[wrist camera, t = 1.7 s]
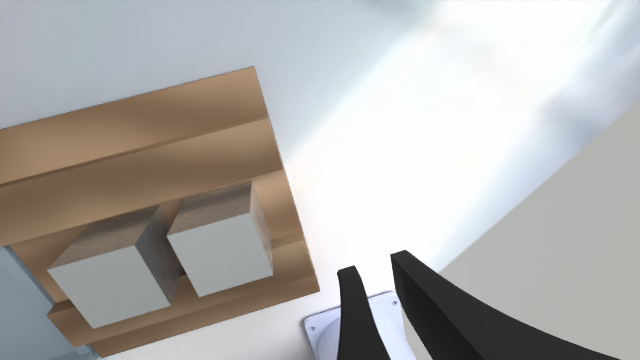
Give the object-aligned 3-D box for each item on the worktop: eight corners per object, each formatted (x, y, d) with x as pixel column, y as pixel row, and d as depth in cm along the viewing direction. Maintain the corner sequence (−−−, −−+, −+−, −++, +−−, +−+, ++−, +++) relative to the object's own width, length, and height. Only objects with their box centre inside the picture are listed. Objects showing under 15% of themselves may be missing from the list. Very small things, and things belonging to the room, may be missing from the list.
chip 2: (271, 233, 20) (273, 274, 16) (210, 251, 20) (199, 297, 16) (251, 179, 18) (249, 212, 15) (185, 197, 18) (166, 236, 14)
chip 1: (187, 257, 20) (170, 305, 16) (124, 275, 19) (93, 328, 16) (159, 205, 18) (134, 245, 14) (90, 224, 18) (46, 269, 14)
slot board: (317, 281, 24) (322, 301, 22) (108, 345, 22) (94, 371, 21) (254, 66, 17) (253, 68, 15) (-52, 142, 16) (-93, 154, 14)
